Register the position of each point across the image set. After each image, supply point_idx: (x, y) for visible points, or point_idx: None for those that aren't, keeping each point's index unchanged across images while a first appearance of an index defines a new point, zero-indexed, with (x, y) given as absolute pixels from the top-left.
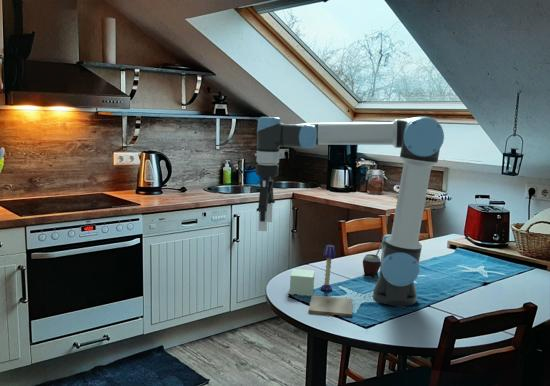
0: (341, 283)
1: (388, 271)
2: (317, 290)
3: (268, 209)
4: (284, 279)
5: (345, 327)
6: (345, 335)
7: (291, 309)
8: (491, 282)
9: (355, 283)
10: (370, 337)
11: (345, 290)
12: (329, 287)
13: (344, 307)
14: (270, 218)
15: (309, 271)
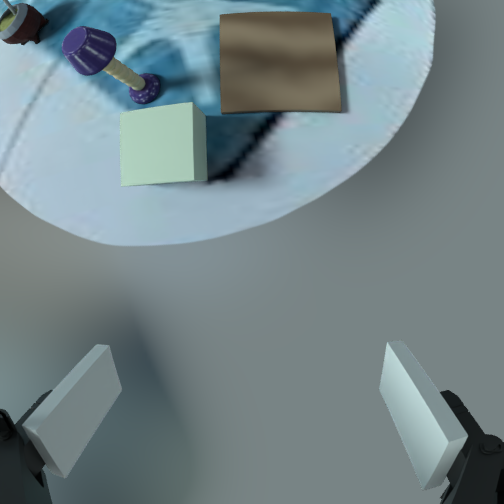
0: None
1: None
2: None
3: (73, 424)
4: (98, 218)
5: (393, 36)
6: (430, 43)
7: (327, 159)
8: None
9: None
10: (418, 3)
11: (139, 45)
12: (150, 76)
13: (290, 27)
14: (100, 368)
15: (132, 126)
